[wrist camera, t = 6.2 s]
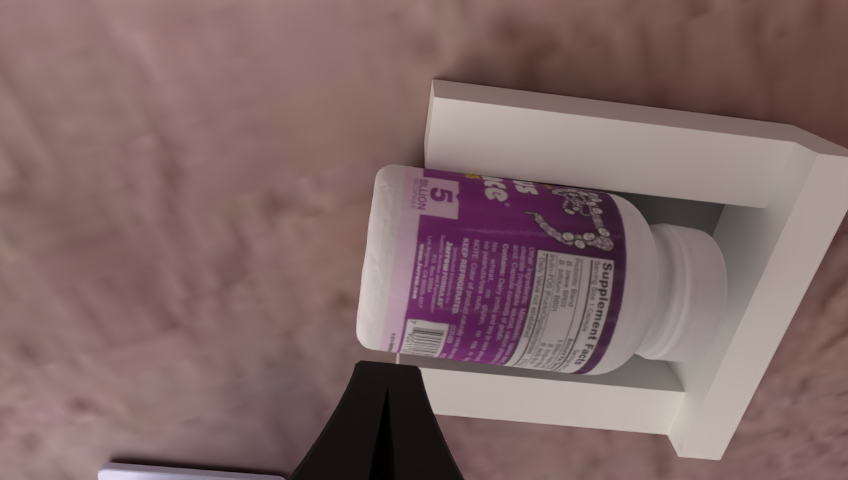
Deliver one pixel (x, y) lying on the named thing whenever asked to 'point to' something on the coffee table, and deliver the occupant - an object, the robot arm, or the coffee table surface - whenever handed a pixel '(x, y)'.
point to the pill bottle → (532, 275)
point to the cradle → (658, 203)
